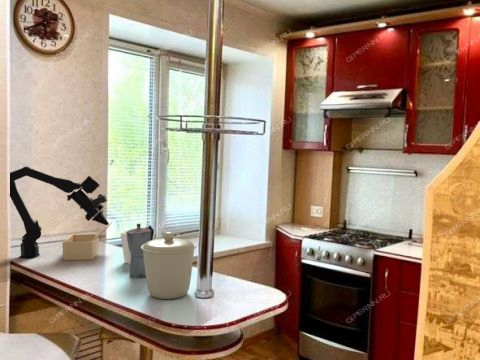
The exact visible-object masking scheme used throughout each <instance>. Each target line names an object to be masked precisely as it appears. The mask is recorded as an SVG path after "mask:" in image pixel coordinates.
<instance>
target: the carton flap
mask: <svg viewBox="0 0 480 360" xmlns="http://www.w3.org/2000/svg"><path fill="white" fill-rule="evenodd" d="M112 224H113V221H111V222H110V223H109V224H108V225H106V226H105V227H104V228H103V229H102V230H101V231H100V232H98V233H97V234H98V235H97V236H96V237H95V238H94V240H95V239H96V238H97V237H98V236H99V237H100V236H101V235H102V234H103V233H104V232H105V231H106V230H107V229H109V227H110V226H111V225H112ZM94 240H93V241H94Z"/></svg>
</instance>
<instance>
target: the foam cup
mask: <svg viewBox="0 0 480 360" xmlns="http://www.w3.org/2000/svg"><path fill="white" fill-rule="evenodd" d="M129 230H130V229H128V230H122V231H120V239H121V246H122V252H123V254H122V255H123V260H124V263H125V264H127V263H128V265H130V262H131V255H130V251H129V247H128V241H127V235H126V232H127V231H129Z"/></svg>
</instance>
